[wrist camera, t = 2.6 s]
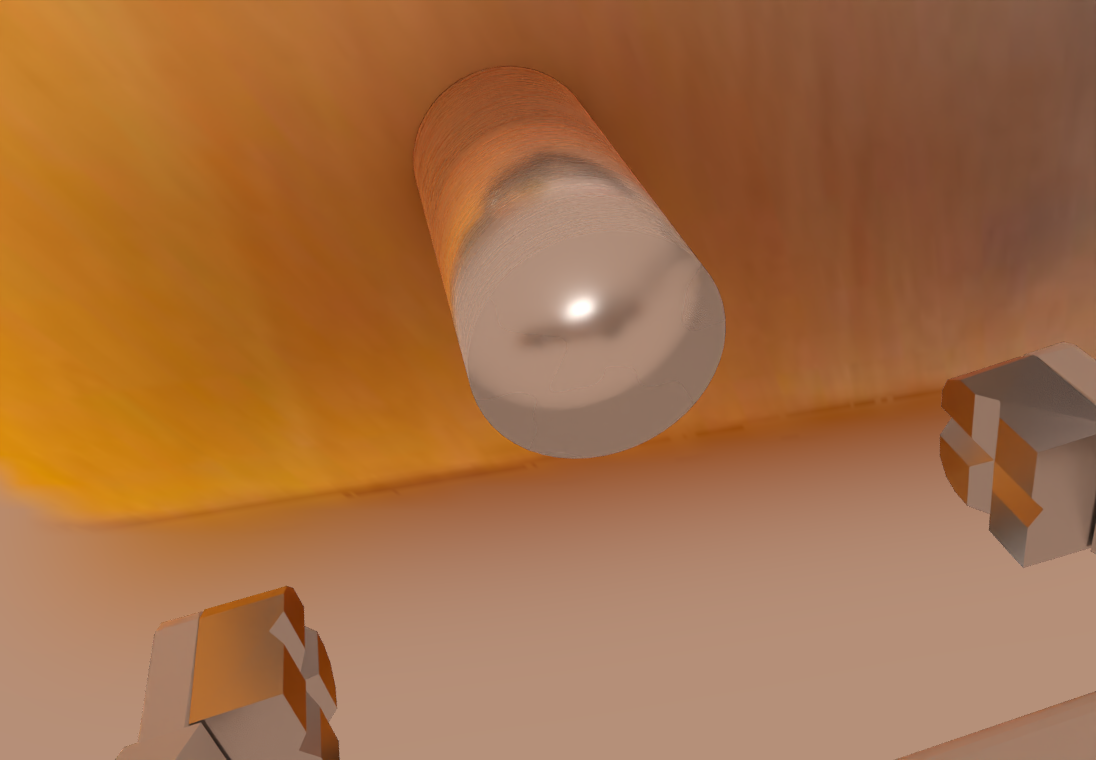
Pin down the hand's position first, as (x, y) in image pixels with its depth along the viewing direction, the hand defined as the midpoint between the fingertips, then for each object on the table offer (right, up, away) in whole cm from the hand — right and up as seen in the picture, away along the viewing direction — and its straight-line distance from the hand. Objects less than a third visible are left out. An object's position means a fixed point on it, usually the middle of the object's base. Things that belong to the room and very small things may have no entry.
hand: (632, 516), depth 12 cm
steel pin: (-2, +6, +9) cm, 12 cm away
